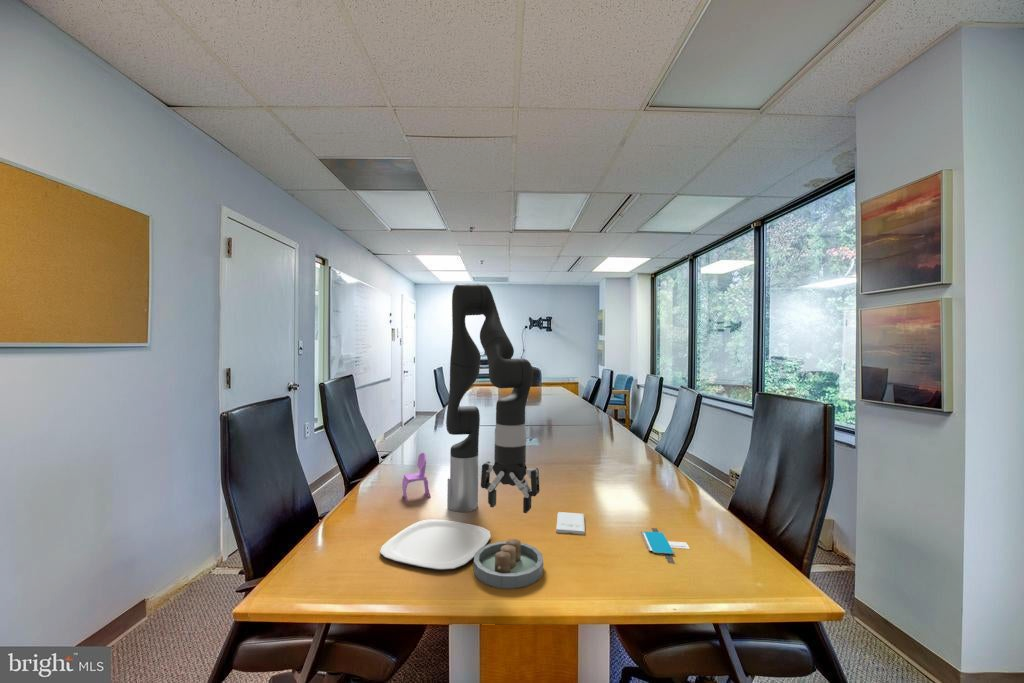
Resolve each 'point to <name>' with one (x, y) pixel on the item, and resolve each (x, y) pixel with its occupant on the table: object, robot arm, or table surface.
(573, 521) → the external hard drive
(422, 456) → the toy chair
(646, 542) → the blue flat panel
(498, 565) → the bead string
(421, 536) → the plate
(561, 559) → the table surface
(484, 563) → the round tray
